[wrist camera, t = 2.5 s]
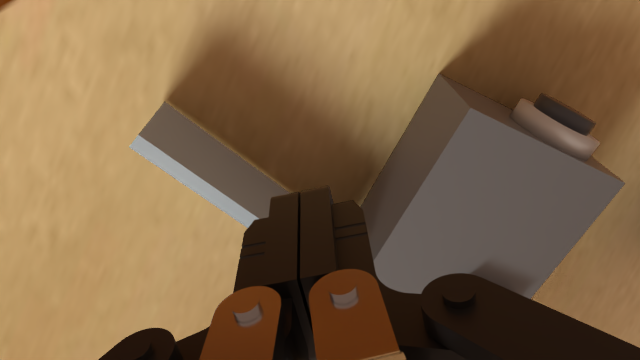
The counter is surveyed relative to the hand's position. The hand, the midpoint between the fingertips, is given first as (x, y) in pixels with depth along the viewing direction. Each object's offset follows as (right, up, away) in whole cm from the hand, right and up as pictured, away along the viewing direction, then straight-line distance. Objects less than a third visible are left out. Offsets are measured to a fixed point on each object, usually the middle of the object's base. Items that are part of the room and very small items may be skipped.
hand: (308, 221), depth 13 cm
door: (-4, +1, +17) cm, 18 cm away
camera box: (+8, 0, +18) cm, 20 cm away
